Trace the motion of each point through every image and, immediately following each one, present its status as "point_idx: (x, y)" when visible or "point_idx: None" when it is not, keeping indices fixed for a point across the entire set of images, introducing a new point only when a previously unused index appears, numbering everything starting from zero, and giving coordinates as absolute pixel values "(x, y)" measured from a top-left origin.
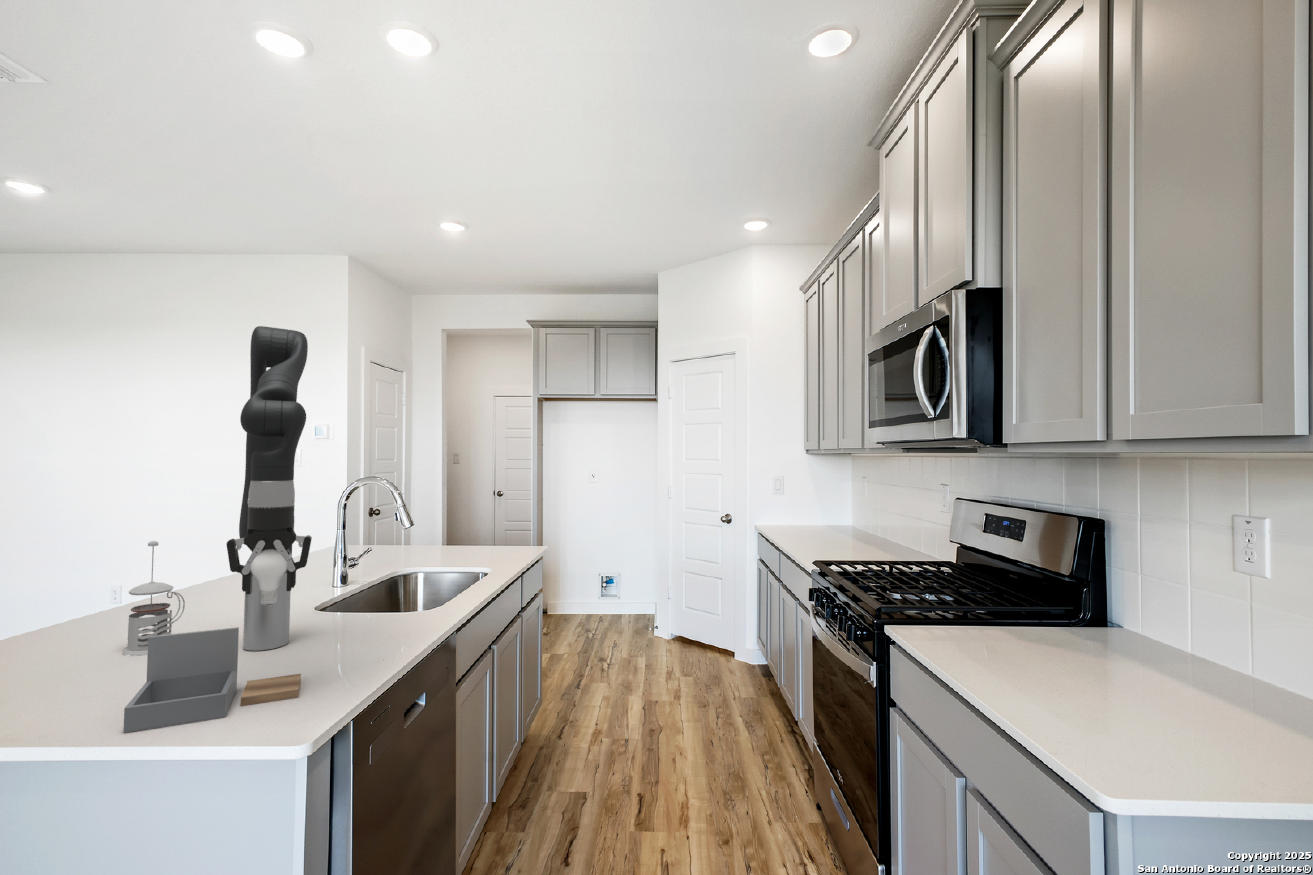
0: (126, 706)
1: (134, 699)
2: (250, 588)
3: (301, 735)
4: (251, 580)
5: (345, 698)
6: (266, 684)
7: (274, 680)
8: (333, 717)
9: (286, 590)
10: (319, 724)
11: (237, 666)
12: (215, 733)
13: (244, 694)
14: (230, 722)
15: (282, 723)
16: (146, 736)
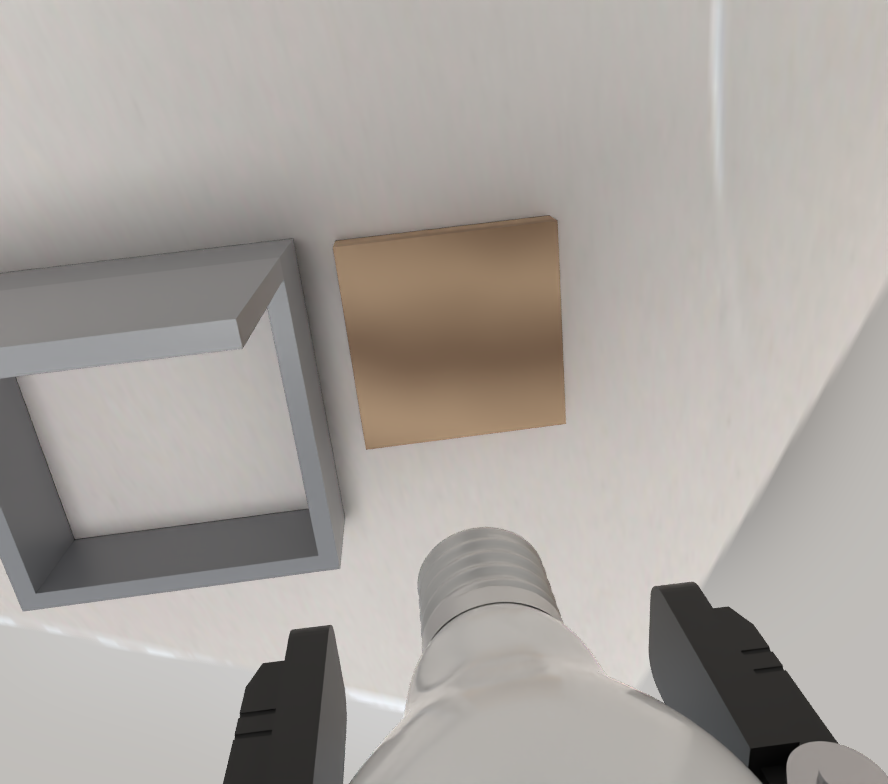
0: (18, 595)
1: (1, 534)
2: (343, 750)
3: None
4: (330, 777)
5: (718, 470)
6: (430, 326)
7: (453, 281)
8: None
9: (652, 670)
10: (638, 641)
11: (278, 260)
12: (357, 625)
13: (370, 418)
14: (376, 562)
15: None
16: (154, 595)
